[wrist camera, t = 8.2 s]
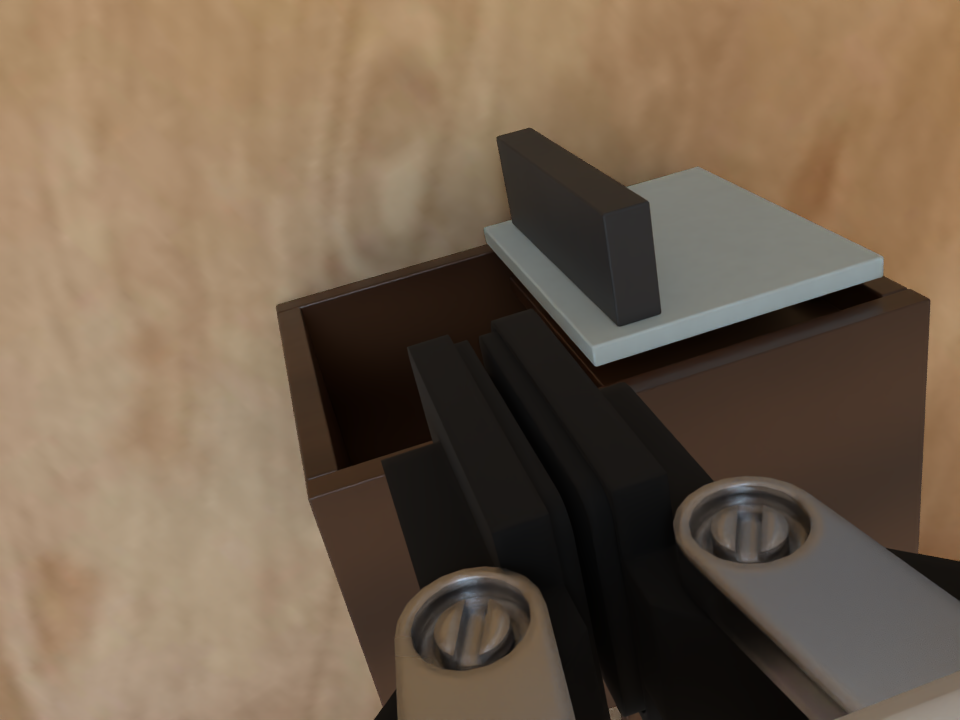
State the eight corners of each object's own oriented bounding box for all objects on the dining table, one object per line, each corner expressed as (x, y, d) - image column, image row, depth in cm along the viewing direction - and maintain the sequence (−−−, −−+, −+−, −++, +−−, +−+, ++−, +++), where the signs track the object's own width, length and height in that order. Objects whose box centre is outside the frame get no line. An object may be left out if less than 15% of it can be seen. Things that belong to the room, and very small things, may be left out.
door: (464, 140, 29) (574, 231, 20) (691, 79, 30) (887, 140, 21) (485, 243, 31) (594, 368, 22) (700, 182, 32) (884, 277, 23)
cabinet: (275, 304, 31) (307, 499, 20) (702, 181, 33) (931, 298, 22) (351, 530, 35) (410, 783, 25) (720, 409, 38) (916, 594, 27)
